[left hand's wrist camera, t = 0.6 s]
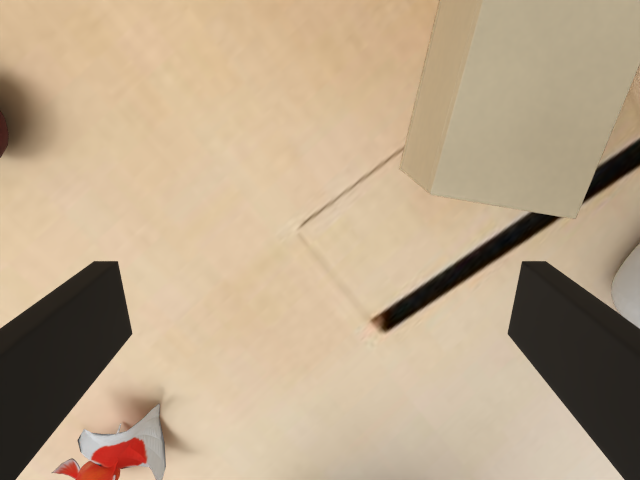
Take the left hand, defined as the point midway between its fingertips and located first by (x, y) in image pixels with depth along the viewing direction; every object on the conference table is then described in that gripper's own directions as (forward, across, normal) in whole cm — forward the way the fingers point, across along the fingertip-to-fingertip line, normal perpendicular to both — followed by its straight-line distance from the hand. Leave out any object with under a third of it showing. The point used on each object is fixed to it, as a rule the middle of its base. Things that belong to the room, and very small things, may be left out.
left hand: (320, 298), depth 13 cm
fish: (+26, +24, +33) cm, 48 cm away
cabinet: (+26, -14, -8) cm, 30 cm away
